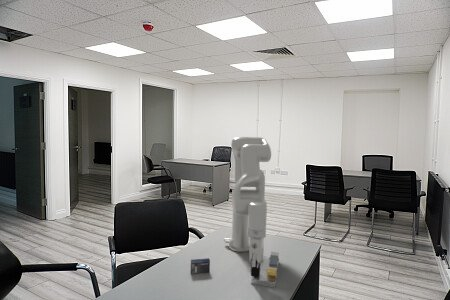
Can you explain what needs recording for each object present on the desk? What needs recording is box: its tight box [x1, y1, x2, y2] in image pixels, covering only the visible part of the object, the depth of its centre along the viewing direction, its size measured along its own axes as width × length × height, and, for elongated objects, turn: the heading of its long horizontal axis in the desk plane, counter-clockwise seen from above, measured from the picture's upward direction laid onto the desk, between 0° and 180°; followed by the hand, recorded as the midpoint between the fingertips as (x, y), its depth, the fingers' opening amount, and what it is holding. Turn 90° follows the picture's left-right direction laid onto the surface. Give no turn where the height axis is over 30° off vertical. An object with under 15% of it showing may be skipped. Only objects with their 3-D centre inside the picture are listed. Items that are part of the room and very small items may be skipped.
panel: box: [250, 255, 280, 288], centre depth 133 cm, size 10×24×4 cm, turn 167°
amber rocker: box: [267, 267, 278, 276], centre depth 127 cm, size 4×9×1 cm, turn 167°
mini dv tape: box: [190, 257, 211, 275], centre depth 131 cm, size 8×2×6 cm, turn 105°
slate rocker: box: [268, 251, 280, 267], centre depth 139 cm, size 4×9×1 cm, turn 167°
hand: (255, 275), depth 123 cm, fingers closed
